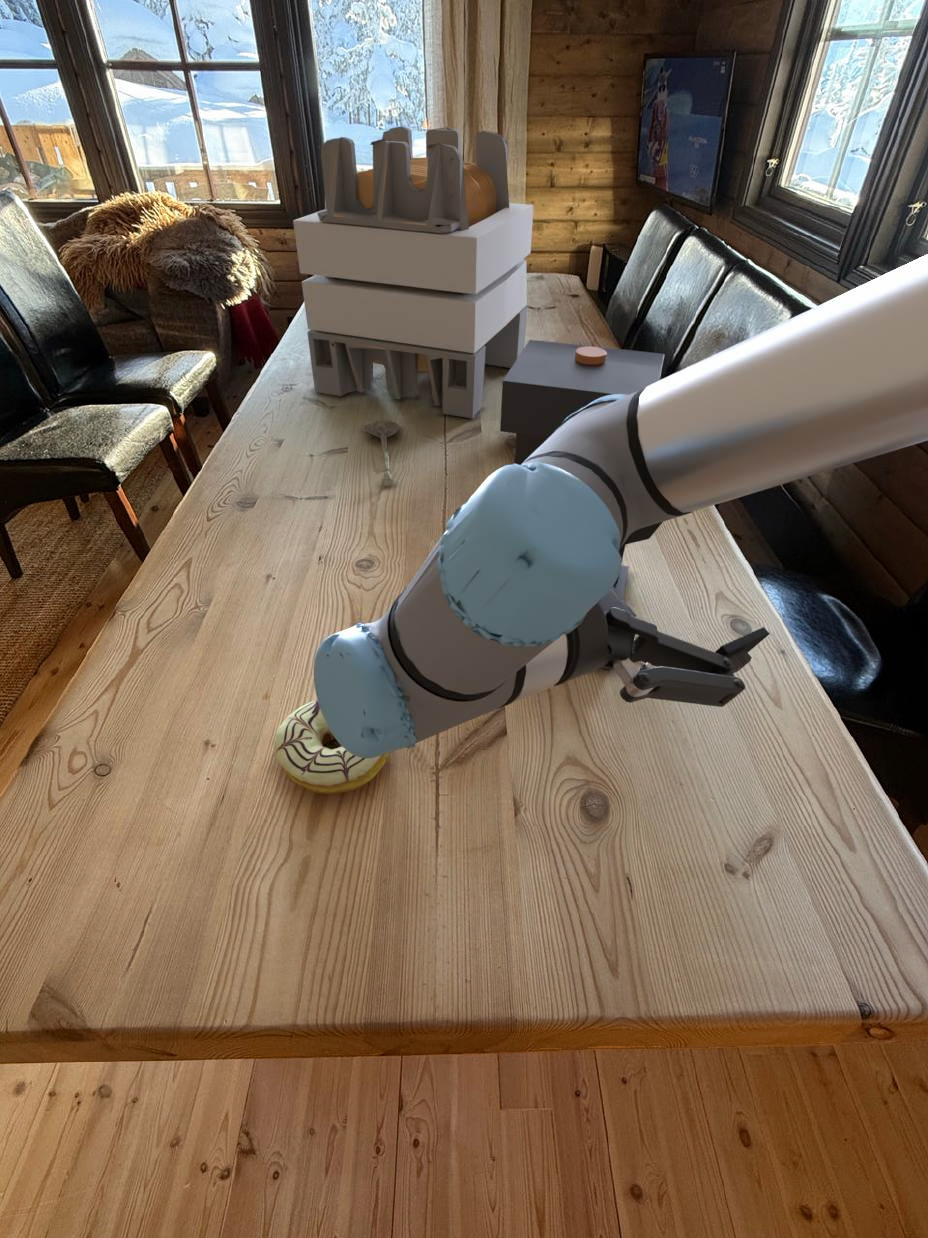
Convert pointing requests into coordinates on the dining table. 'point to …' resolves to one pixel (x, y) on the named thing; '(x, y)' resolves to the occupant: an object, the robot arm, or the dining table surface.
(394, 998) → the dining table surface
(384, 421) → the soupspoon
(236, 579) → the dining table surface
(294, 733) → the decorated donut
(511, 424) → the coffee maker
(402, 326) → the transformer
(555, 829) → the dining table surface
